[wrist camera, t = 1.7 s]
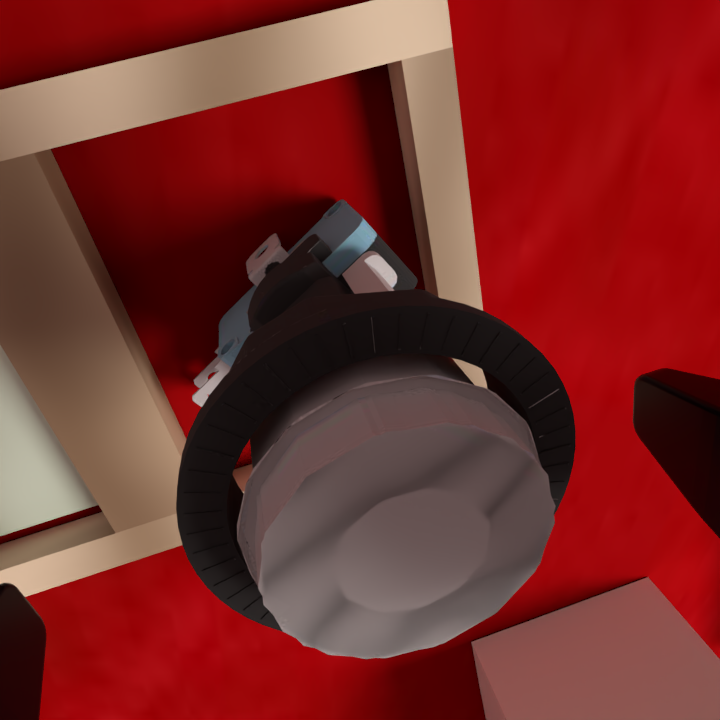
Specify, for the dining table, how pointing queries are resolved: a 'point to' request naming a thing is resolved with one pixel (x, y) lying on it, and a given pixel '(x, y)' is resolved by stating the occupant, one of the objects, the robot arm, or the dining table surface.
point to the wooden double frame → (101, 300)
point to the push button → (368, 451)
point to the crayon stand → (601, 663)
